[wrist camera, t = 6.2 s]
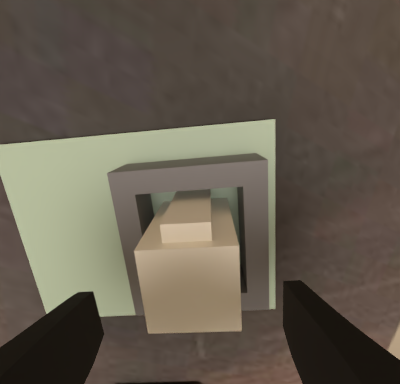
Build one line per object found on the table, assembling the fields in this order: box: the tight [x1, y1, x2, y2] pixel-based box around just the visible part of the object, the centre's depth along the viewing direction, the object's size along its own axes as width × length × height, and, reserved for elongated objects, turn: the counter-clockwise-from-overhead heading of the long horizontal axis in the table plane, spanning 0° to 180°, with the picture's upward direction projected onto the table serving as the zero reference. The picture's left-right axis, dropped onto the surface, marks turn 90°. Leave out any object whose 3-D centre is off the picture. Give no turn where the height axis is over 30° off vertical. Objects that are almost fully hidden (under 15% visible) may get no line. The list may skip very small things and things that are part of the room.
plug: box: [134, 189, 242, 334], centre depth 12 cm, size 5×4×6 cm
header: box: [0, 119, 275, 317], centre depth 14 cm, size 13×17×4 cm
